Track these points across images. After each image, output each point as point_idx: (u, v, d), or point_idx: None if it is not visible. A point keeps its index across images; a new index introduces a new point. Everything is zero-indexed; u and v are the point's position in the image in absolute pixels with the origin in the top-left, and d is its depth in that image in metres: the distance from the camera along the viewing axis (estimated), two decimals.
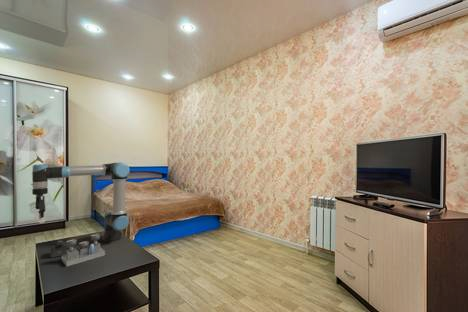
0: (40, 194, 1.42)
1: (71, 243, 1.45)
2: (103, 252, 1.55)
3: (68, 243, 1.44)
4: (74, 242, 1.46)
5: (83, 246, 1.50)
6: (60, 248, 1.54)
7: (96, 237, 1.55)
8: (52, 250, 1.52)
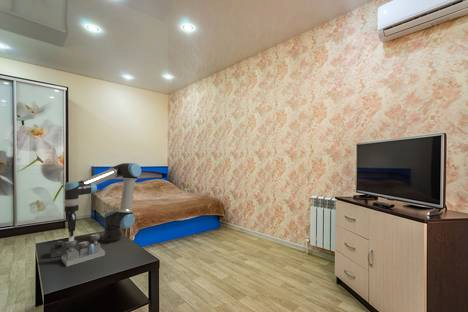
0: (72, 211, 1.45)
1: (71, 244, 1.45)
2: (103, 252, 1.55)
3: (68, 244, 1.44)
4: (74, 243, 1.46)
5: (83, 246, 1.50)
6: (60, 248, 1.54)
7: (96, 237, 1.55)
8: (52, 250, 1.51)
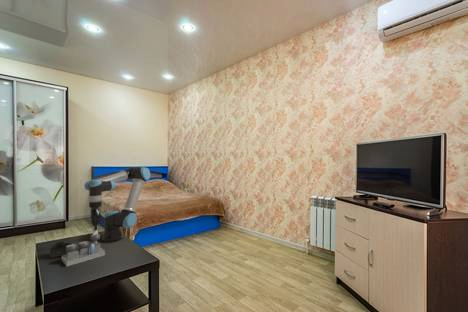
0: (96, 207, 1.55)
1: (71, 248, 1.45)
2: (103, 252, 1.55)
3: (68, 248, 1.44)
4: (74, 247, 1.46)
5: (83, 246, 1.50)
6: (59, 248, 1.54)
7: (96, 237, 1.55)
8: (51, 250, 1.51)
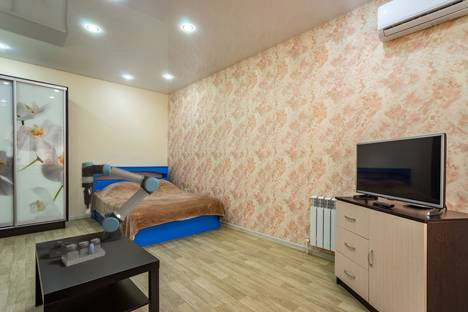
0: (88, 187, 1.68)
1: (71, 248, 1.45)
2: (103, 252, 1.55)
3: (68, 248, 1.44)
4: (74, 247, 1.46)
5: (83, 246, 1.50)
6: (59, 249, 1.53)
7: (96, 242, 1.55)
8: (51, 250, 1.51)
